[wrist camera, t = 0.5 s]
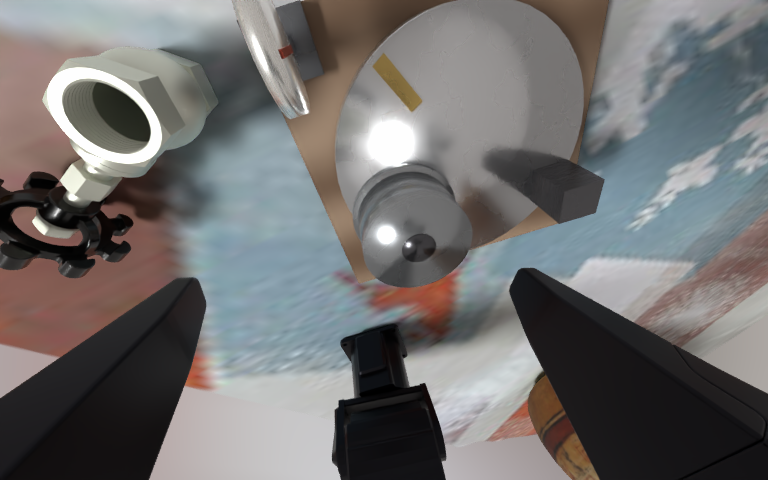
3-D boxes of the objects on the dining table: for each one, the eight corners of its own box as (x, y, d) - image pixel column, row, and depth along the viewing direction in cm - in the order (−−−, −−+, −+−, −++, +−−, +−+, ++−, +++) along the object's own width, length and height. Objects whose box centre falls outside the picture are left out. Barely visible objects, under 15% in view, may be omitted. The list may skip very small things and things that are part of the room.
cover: (456, 236, 21) (480, 273, 18) (368, 262, 22) (376, 304, 18) (447, 148, 17) (475, 176, 14) (337, 182, 17) (340, 218, 14)
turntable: (551, 212, 23) (593, 246, 20) (372, 267, 24) (381, 310, 20) (591, -45, 14) (685, -71, 10) (289, 52, 14) (277, 59, 11)
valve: (134, -4, 13) (26, 164, 16) (10, -25, 8) (-113, 226, 11) (257, 111, 17) (148, 230, 20) (226, 148, 12) (86, 300, 15)
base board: (558, 215, 25) (567, 222, 25) (358, 275, 26) (359, 285, 25) (612, -97, 14) (632, -107, 13) (245, 21, 14) (239, 21, 13)
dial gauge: (327, 82, 15) (329, 119, 9) (276, 98, 16) (242, 146, 9) (296, -12, 13) (268, -51, 7) (234, 7, 13) (150, -12, 7)
